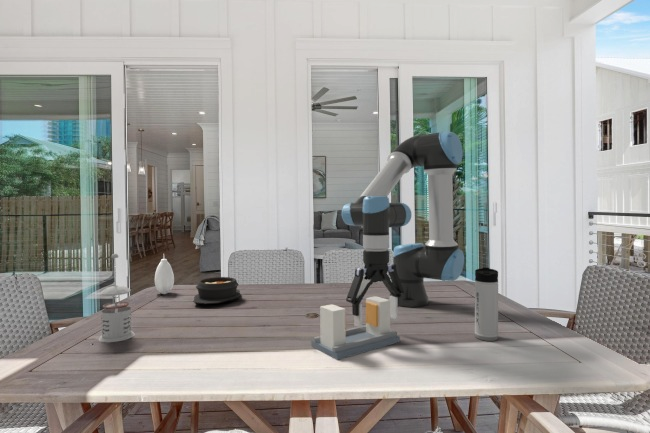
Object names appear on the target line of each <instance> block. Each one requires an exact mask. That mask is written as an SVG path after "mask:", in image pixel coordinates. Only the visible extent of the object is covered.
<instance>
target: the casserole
mask: <svg viewBox="0 0 650 433" xmlns="http://www.w3.org/2000/svg"><path fill="white" fill-rule="evenodd" d="M237 281H238V280H237V279H236V278H234V277H229V276H216V277H207V278H203V279H200V280H198V282H197V285H195V288H196V289H197V292H198V294H196V295H194V297H193V301H192V302H193V303H195V304H203V305H212V304H213V305H214V304H223V303H227V302H230V301H233V300H234V299H235V300H236V299H237V298H239V297H240V296H241V295H242V294H241V290H240V289H237V288H238V286H239V282H237Z"/></svg>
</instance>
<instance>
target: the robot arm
mask: <svg viewBox="0 0 650 433" xmlns="http://www.w3.org/2000/svg"><path fill="white" fill-rule="evenodd" d="M463 155H464V151H463V146H462V142H461V139H460V137H459V136H458V134H456V133H455V132H453V131H440V132H433V133H428V134H427V133H426V134H420V135H419V134H418V135H414V136H411V137H409V138H407V139H405V140H404V141H402V142H401V143H399V144H398V145H397V146H396V147H395V148H394V149H393V150H392V151H391V152H390V153H389V155H388V157H387V162H386V163H385V164H384V165H383V166H382V168H381V169H380V171H378V173H377V174H376V176H375V177H374V178H373V179H372V180H371V182H370V183H369V184H368V186H367V187H366V188H365V190H364V191H363V192H362V193H361V194H360V196H359V197H358V198H357V200H355V202H349V203H346V204H344V206H342V209H341V219H342V221H343V223H344V224H345V225H348V226H353V227H362V228H363V232H362V248H363V249H364V250H363V251H362V262H363V264H364V267H363V268H361V267H355V269H354V277H353V280H352V282H351V285H350V287H349V290H348V293H347V296H346V300H345V301H346V302H347V303H350V304H351V305H352V308H351V309H352V310H351V313H352V315H353V326H354V327H359V328H362V326H363V304H362V303H361V302H362V300H363V299H364V297H365V295H366V293H367V292H368V289H369V288H370V286H371V285H373V284H374V283H378V282H379V283H381V282H382V284H383V285H384V286H385V288H386V289H387V290H388V292H389V295H388V300H390V319H392V320H398V318H399V316H398V315H399V313H398V308H399V307H406V308H407V307H408V308H410V307H411V308H416V307H423V306H424V307H425V306H427V305H428V304H429V296H428V295H427V290H426V287H425V282H424V279H430V280H437V281H443V282H445V281H446V282H447V281H448V282H454V281H456V280H458V279H459V278H460V276H461V274H462V273H463V269H464V265H465V255H464V251H462V250H461V249H459V244H458V243H457V241H455V240H454V200H453V199H454V198H453V195H454V194H453V187H454V185H453V174H454V173H455V171H457V168H458V166H457V165H459V164H460V163H462V161H463V157H464V156H463ZM416 167H423V172H424V173H426V175H427V182H428V183H427V185H428V186H427V188H428V189H427V190H428V198H427V199H428V235H429V237H428V240H427V241H426V242H425V243H423V242H419V243H417V242H416V243H407V244H400V245H396V246H394V247H393V254H392V255H393V256H392V260H393V261H392V262H393V263H390V251H389V248H390V228H401V227H404V226H406V225H408V224H409V223H410V222H411V220H412V210H411V208H410V207H409V205H408V204H406V203H403V202H401V201H400V202H399V201H398V202H397V201H396V202H390V199H389V197H388V196H389V195H390V193H391V192H392V191H393V189H394V188H395V186H396V185H397V184H398V183H399V181H400V179H401V178H402V177H403V176H404V175H405V174H407V173H409V172H410V171H411V169H413V168H416Z"/></svg>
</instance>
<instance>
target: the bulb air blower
mask: <svg viewBox="0 0 650 433" xmlns="http://www.w3.org/2000/svg"><path fill="white" fill-rule="evenodd" d="M162 255H163V258H162V259H160V262H159V264H158V265H157V266H156V270H155V274H154V285H155V288H156V291H158V293H159V292H160V294H162V295H166V294H167V295H168V293H170V292H171V291H172V290H173V287H174V283H175V275H174V270H173V268H172V266H171V263H170V262H168V259H167V258H165V253H163V254H162Z"/></svg>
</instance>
